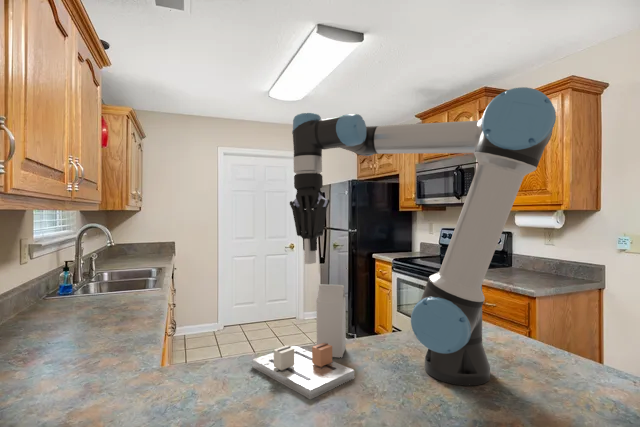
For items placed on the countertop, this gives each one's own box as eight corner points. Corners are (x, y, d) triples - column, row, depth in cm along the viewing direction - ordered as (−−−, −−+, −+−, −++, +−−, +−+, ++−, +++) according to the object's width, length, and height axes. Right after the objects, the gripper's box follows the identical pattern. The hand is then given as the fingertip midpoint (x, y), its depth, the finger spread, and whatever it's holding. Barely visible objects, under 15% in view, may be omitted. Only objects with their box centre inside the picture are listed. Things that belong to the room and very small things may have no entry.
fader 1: (294, 365, 88) (294, 347, 88) (281, 370, 85) (281, 352, 85) (286, 361, 90) (286, 344, 90) (273, 366, 87) (273, 348, 87)
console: (354, 378, 86) (354, 369, 86) (310, 399, 76) (310, 389, 76) (295, 352, 102) (294, 345, 102) (252, 367, 92) (252, 359, 92)
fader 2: (332, 362, 90) (332, 344, 90) (320, 366, 87) (320, 348, 87) (323, 358, 92) (323, 341, 92) (312, 363, 89) (312, 345, 89)
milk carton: (342, 358, 98) (342, 288, 98) (316, 356, 99) (316, 286, 99) (345, 348, 105) (345, 282, 105) (321, 346, 106) (321, 282, 106)
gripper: (336, 172, 94) (338, 263, 94) (301, 177, 103) (303, 260, 103) (315, 170, 89) (318, 266, 88) (281, 175, 98) (283, 263, 97)
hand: (310, 263), depth 96 cm, fingers closed
